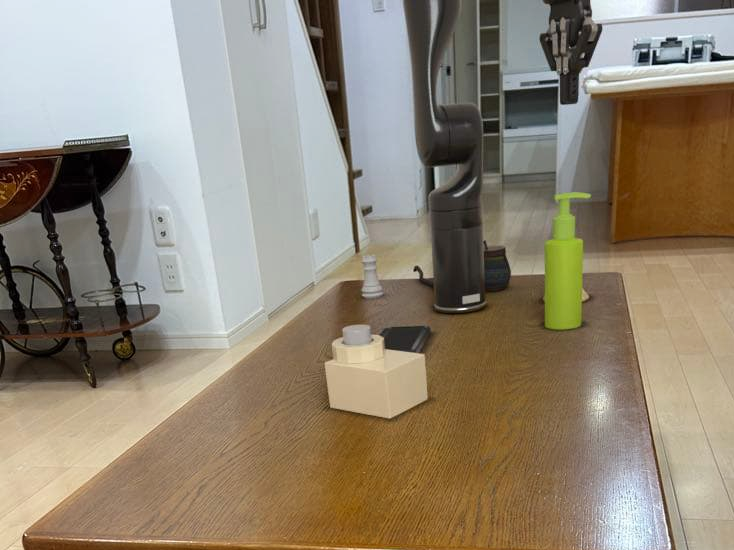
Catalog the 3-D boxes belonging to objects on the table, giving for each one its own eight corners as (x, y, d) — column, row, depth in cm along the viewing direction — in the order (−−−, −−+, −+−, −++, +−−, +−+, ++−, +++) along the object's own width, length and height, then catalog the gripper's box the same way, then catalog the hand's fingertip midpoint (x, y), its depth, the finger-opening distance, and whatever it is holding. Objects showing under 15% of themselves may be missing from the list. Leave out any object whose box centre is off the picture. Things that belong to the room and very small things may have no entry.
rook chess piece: (383, 298, 165) (379, 256, 161) (361, 299, 165) (356, 258, 161) (384, 293, 169) (380, 252, 165) (362, 295, 169) (358, 254, 165)
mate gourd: (513, 285, 165) (512, 232, 161) (508, 293, 159) (507, 239, 154) (477, 286, 167) (476, 234, 163) (471, 294, 161) (469, 240, 156)
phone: (431, 325, 136) (415, 350, 123) (431, 332, 137) (416, 357, 124) (384, 327, 138) (364, 351, 125) (385, 333, 138) (365, 359, 126)
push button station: (325, 406, 108) (317, 346, 104) (364, 389, 113) (358, 330, 109) (390, 419, 101) (384, 355, 98) (428, 399, 107) (423, 338, 103)
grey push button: (338, 346, 105) (336, 330, 104) (356, 339, 107) (354, 323, 106) (359, 349, 103) (358, 332, 102) (377, 341, 105) (376, 325, 104)
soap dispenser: (587, 328, 131) (591, 193, 122) (543, 330, 133) (543, 196, 123) (588, 319, 136) (591, 189, 127) (545, 321, 138) (545, 192, 128)
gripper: (623, -51, 107) (617, 100, 115) (567, -33, 118) (566, 103, 126) (573, -49, 105) (571, 105, 113) (521, -31, 116) (523, 107, 124)
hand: (568, 104), depth 120 cm, fingers closed
